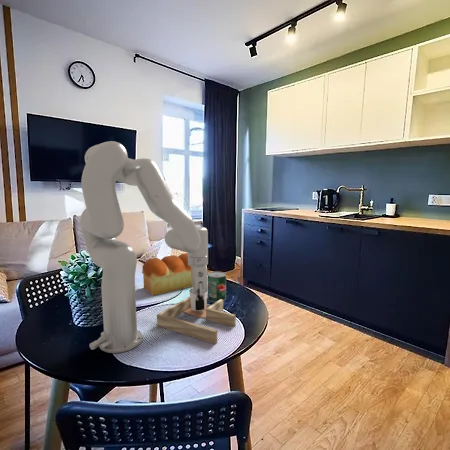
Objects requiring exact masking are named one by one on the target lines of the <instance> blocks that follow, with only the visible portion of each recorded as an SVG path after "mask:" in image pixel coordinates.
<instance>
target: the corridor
mask: <svg viewBox="0 0 450 450" xmlns="http://www.w3.org/2000/svg"><path fill="white" fill-rule="evenodd" d="M189 308H191V301H190V296H188V297H186V298H184V299H183V300H181V301H178V302H177V303H176V304H174V305H172V306H170V307H167V308H166V309H164V310H162V311H161V312H159V313H157V314H156V325H157V326H156V327H160V328H164V329H166V330H170V331H173V332H175V333H179V334H183V335H185V336H188V337H192V338H195V339H198V340H202V341H204V342H207V343H210V344H213V345H216V344H217V343H218V329H215V328H211V327H207V326H204V325H201V324H198V323H194V322H191V321H187V320H183V319H180V318H176V317H177V316H179V315H181V314H184V311H186V310H187V309H189ZM223 310H224V301H223V300H222V299H220V300H219V301H217V302H213V303H212V304H211V306H210V307H208V308H207V309H206V319H205V320H207V321H210V322H214V323H218V324H221V325H225V326H228V327H232V328H235V327H236V324H237V323H236V322H237V321H236V320H237V319H236V316H237V315H236V314H234V313H230V312H227V311H223Z"/></svg>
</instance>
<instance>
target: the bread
mask: <svg viewBox="0 0 450 450" xmlns="http://www.w3.org/2000/svg"><path fill="white" fill-rule="evenodd" d="M141 271H142V272H141V273H142V275H143V277H142V278H143V289H145V290H146V291H147V290H148V291H149V293H150V294H151V295H152V296H157V295H161V294H165V293H169V292H175V291H178V290H183V289H187V288H190V287H192V285H191V266H189V265H188V253H187V252H184V253H181V254H179V255H169V256H164V257H162V258H161V259H160V258H158V257H154V258H148V259H147V260H146V261H145V262H144V263H143V264H142V270H141ZM148 291H147V292H148Z"/></svg>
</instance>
